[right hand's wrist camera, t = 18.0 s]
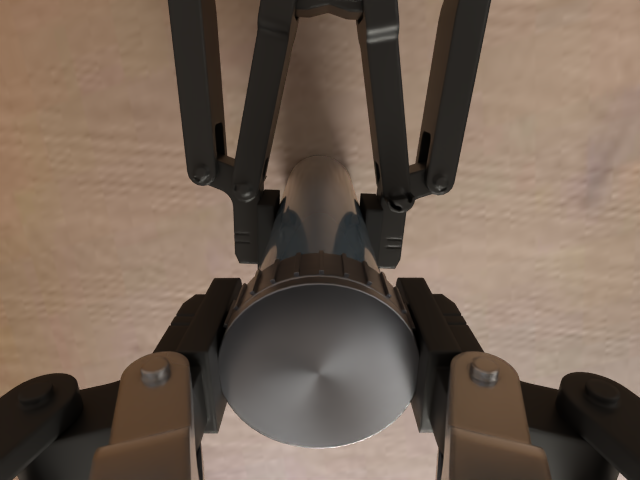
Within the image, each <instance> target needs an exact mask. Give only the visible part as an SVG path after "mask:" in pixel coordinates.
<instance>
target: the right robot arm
mask: <svg viewBox="0 0 640 480" xmlns="http://www.w3.org/2000/svg"><path fill="white" fill-rule="evenodd" d="M396 286H397V288H398V290H399V292H400V295H401V298H402V300H403V303H406V305H407V307H408V310H409V312H410V315H411V318H412V320H413V323H414V325H415V328H416V331H415V332H413V333H414V335H415V338H416V341H417V344H418V347H419V351H420V357H419V367H418V376H417V385H416V392H415V394H414V396H413V398H412V400H411V405H412V408H413V412H414V415H415V419H416V423H417V426H418V430H419V433H434V436H435V439H436V442H437V445H438V454H437V465H436V480H617V478H618V475H619V472H620V473H621V474H622V475H623V476H624V477H625V478H626V479H627V480H640V398H639V397H638V396H637V395H635V394H634V393H632V392H631V391H630V390H628V389H627V388H625V387H624V386H622V385H621V384H619V383H617V382H615V381H613V380H611V379H609V378H606V377H603V376H600V375H597V374H592V373H586V372H574V373H570V374H567V375H565V376H564V377H563V378H562V380H561V384H560V387H559V390H557V389H553V388H548V387H543V386H539V385H534V384H530V383H526V382H522V381H520V380H519V376H518V374H517V372H516V371H515V369H514V368H513V367H512V366H511V365H510V364H509V363H507V362H506V361H504V360H502V359H501V358H499V357H496V356H494V355H491V354H488V353H484V351H483V349H482V348H481V346H480V344H479V343H478V341H477V340H476V338H475V336H474V335H473V333H472V331H471V330H470V328H469V326H468V325H466V321H465V320H464V318H463V316H461V313H460V311H459V310H458V308H457V306H456V305H455V303H454V302H452V301H451V300H449V299H448V298H447V297H445V296H444V295H442V294H432V293H431V291H430V289H429V287H428V285H427V283H426V281H425V280H424V278H398V279H397V282H396ZM241 287H242V283H241V279H240V278H214V280H213V281H212V283H211V285H210V287H209V289H208V291H207V293H206V294H196V295H194V296H193V297H192V298H190V299H189V300H187V301H186V302H185V303H183V305H182V306H181V308H180V309H179V311H178V313H177V314H176V317H175V318H174V319H173V321H172V322H171V326H169V327H168V329H167V331H166V332H165V334H164V335H163V337H162V339H161V340H160V342H159V344H158V345H157V347H156V349H155V350H154V352H153V353H152V354H149V355H146V356H144V357H141V358H139V359H138V360H136V361H134V362H133V363H131V364H130V365H129V366H128V367H127V368H126V369H125V371H124V372H123V374H122V376H121V380H119V381H116V382H113V383H109V384H105V385H101V386H96V387H92V388H87V389H82V390H79V387H78V383H77V380H76V379H75V378H74V377H73V376H71V375H68V374H63V373H54V374H47V375H43V376H39V377H36V378H33V379H30V380H28V381H26V382H24V383H22V384H20V385H18V386H16V387H15V388H13V389H12V390H10V391H9V392H8V393H6V394H5V395H3V396H2V397H1V398H0V480H13V479H14V478H15V477H16V476H18V479H19V480H204V465H203V454H202V447H201V440H202V437H203V434H204V433H218V431H219V428H220V424H221V421H222V417H223V414H224V411H225V407H226V404H227V400H226V398H225V396H224V395H223V392H222V388H221V381H220V372H219V363H218V350H219V347H220V344H221V341H222V338H223V335H224V332H225V330H226V328H224V327H223V325H224V323H225V320H226V318H227V315H228V313H229V310H230V307H231V305H232V302H233V300H237V298H238V295H239V293H240V290H241Z"/></svg>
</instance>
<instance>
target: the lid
mask: <svg viewBox="0 0 640 480" xmlns="http://www.w3.org/2000/svg"><path fill="white" fill-rule="evenodd" d="M223 327H224V328H226V330H225V332H224V335H223V338H222V341H221V344H220V347H219V350H218V363H219V372H220V381H221V388H222V392H223V395H224V396H225V398H226V400H227V402H228V404H229V405H230V406H231V408H232V409H233V411H234V412H235V413H236V414H237V415H238V416H239V417H240V418H241V419H242V420H243V421H244V422H245V423H246V424H248V425H249V426H250V427H251V428H253V429H254V430H256V431H257V432H259V433H261V434H262V435H265V436H267V437H269V438H271V439H273V440H276V441H278V442H281V443H285V444H288V445H292V446H298V447H304V448H334V447H341V446H346V445H350V444H354V443H357V442H360V441H362V440H365V439H367V438H369V437H371V436H374V435H376V434H377V433H379V432H381V431H382V430H384V429H385V428H387V427H388V426H389V425H391V424H392V423H393V422H394V421H395V420H396V419H397V418H398V417H399V416H400V415H401V414H402V413H403V412H404V411H405V409H406V408H407V407H408V405H409V404H410V402H411V400H412V398H413V396H414V394H415V392H416V385H417V376H418V367H419V357H420V351H419V347H418V344H417V341H416V338H415V335H414V333H413V332H415V331H416V328H415V325H414V323H413V320H412V318H411V315H410V312H409V310H408V307H407V305H406V303H403V300H402V298H401V295H400V292H399V290H398V288H397V286H395V287H394V288H393V286H392V285H391V284H390V283H389V282H388V281H387V279H386V276H385V274H384V273H383V272H381V273H378V272H377V271H376V270H374V269H373V268H371V267H369V266H368V264H367V262H366V261H364V260H363V262H360V261H357V260H355V259H352V258H349V257H347V256H346V254H345V253H342V255H336V254H328V253H324V251H323V250H319V253H309V254H302V255H301V252H298V253H296V256H293V257H289V258H286V259H283V260H281V261H280V260H279V258H278V259H276V260H275V262H274V264H272V265H270V266H269V267H267V268H265V269H264V270H262V271H261V270H260V269H259V270H257V271H256V274H255V277H254V278H253V279H252V280H251V281H250V282H249V283H248V284H245V283H244V284H243V285H242V287H241V290H240V293H239V295H238V298H237V300H233V302H232V305H231V307H230V310H229V313H228V315H227V318H226V320H225V323H224V325H223Z"/></svg>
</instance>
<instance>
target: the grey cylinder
mask: <svg viewBox="0 0 640 480" xmlns="http://www.w3.org/2000/svg"><path fill="white" fill-rule="evenodd" d="M319 250H323V251H324V253H328V254H336V255H342V253H345V254H346V256H347V257H349V258H352V259H355V260H357V261H360V262H363V260H364V261H366V262H367V264H368V266H369V267H371V268H373V269H374V270H376V271H377V272H378V273H381V272H380V269H379V266H378V263H377V260H376V257H375V254H374V250H373V247H372V244H371V241H370V238H369V235H368V231H367V228H366V225H365V222H364V219H363V216H362V213H361V209H360V206H359V203H358V200H357V197H356V194H355V191H354V187H353V184H352V181H351V178H350V175H349V173H348V171H347V170H346V168H345V167H344V166H343V165H342V164H341V163H340V162H339V161H337V160H336V159H334V158H331V157H328V156H323V155H316V156H311V157H308V158H305V159H303V160H302V161H300V162H299V163H298V164H297V165H296V166H295V167H294V168H293V169H292V171H291V173H290V175H289V178H288V181H287V184H286V187H285V190H284V193H283V196H282V199H281V202H280V206H279V209H278V212H277V215H276V218H275V221H274V224H273V227H272V230H271V233H270V237H269V240H268V243H267V246H266V249H265V252H264V255H263V258H262V261H261V264H260V267H259V269H260V270H261V271H262V270H264V269H265V268H267V267H269V266H270V265H272V264H274V262H275V260H276V259H278V258H279V260H280V261H281V260H283V259H286V258H289V257H293V256H296V253H298V252H301V255H302V254H309V253H319Z"/></svg>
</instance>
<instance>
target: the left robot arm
mask: <svg viewBox="0 0 640 480" xmlns="http://www.w3.org/2000/svg"><path fill="white" fill-rule="evenodd" d="M490 3H491V0H444V2H443V5H442V8H441V12H440V17H439V21H438V27H437V34H436V40H435V46H434V52H433V58H432V64H431V70H430V77H429V83H428V89H427V95H426V101H425V107H424V114H423V120H422V126H421V132H420V138H419V144H418V151H417V157H416V163H415V164H413V165H410V166H409V161H408V149H407V137H406V126H405V114H404V102H403V90H402V79H401V67H400V55H399V44H398V33H399V13H398V1H397V0H261V1H260V7H259V13H258V31H257V37H256V43H255V49H254V54H253V60H252V66H251V72H250V77H249V83H248V89H247V94H246V100H245V106H244V111H243V117H242V123H241V128H240V134H239V140H238V146H237V151H236V157H235V159H234V158H231V157H229V156H227V147H226V133H225V120H224V107H223V93H222V80H221V67H220V54H219V40H218V27H217V14H216V5H215V0H168V6H169V14H170V23H171V32H172V41H173V50H174V58H175V67H176V76H177V85H178V94H179V103H180V111H181V120H182V129H183V138H184V147H185V156H186V164H187V172H188V176H189V178H190V179H191V180H192V182H194V183H195V184H197V185H201V186H205V185H209V186H212V187H215V188H217V189H220V190H222V191H224V192H225V193H227V194H228V195H229V197H230V198H231V200H232V202H233V212H234V233H235V235H234V237H235V254H236V256H237V259H238V261H239V263H245V264H258V270H259V267H260V264H261V261H262V258H263V255H264V252H265V249H266V246H267V243H268V240H269V237H270V233H271V230H272V227H273V224H274V221H275V218H276V215H277V212H278V209H279V206H280V190H264V181H265V179H266V177H267V176H266V172H267V167H268V162H269V157H270V152H271V147H272V143H273V138H274V133H275V128H276V123H277V118H278V114H279V109H280V104H281V99H282V94H283V89H284V85H285V80H286V75H287V70H288V65H289V60H290V56H291V51H292V46H293V42H294V39H295V35H296V31H297V26H298V21H299V17H313V16H317V15H321V14H325V13H331V14H333V15H336V16H339V17H342V18H345V19H352V20H356V24H357V32H358V39H359V44H360V48H361V56H362V65H363V73H364V82H365V90H366V99H367V107H368V116H369V124H370V133H371V141H372V150H373V158H374V167H375V175H376V184H377V196H376V194H363V193H361V196H360V209H361V213H362V216H363V219H364V222H365V225H366V228H367V231H368V235H369V238H370V241H371V244H372V247H373V250H374V254H375V257H376V260H377V263H378V266H379V268H388V269H395V268H396V266H397V264H398V262H399V261H400V257H401V248H402V240H403V234H404V226H405V218H406V212H407V211H408V210H409V209H411V208H412V206H413V204H414V202H415V200H416V199H418V198H421V197H424V196H427V195H431V194H435V195H444V194H445V193H447V192H449V191H450V190H451V189H452V187H453V185H454V182H455V177H456V172H457V167H458V162H459V157H460V152H461V147H462V142H463V137H464V132H465V127H466V122H467V117H468V112H469V107H470V102H471V97H472V92H473V87H474V82H475V77H476V73H477V68H478V63H479V58H480V53H481V48H482V43H483V38H484V33H485V28H486V23H487V18H488V13H489V8H490Z"/></svg>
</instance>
